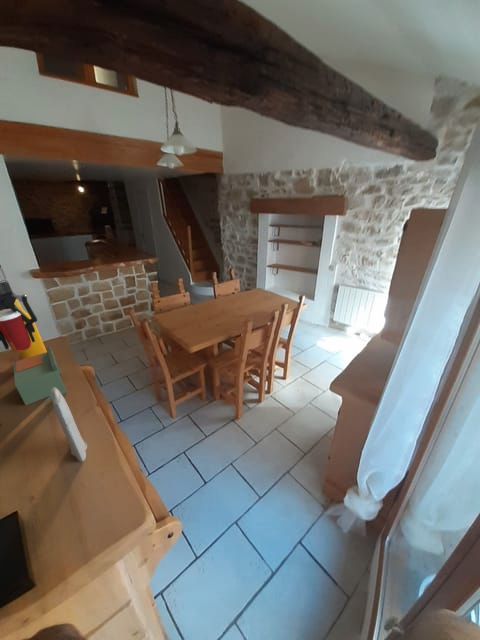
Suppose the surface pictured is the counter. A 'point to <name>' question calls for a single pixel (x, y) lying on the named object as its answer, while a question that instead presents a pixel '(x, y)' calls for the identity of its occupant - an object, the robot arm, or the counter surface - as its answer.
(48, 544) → the counter surface
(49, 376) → the sage green crate
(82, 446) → the tall pale column
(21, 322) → the paper cup
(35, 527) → the counter surface
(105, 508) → the counter surface
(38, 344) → the yellow bottle
